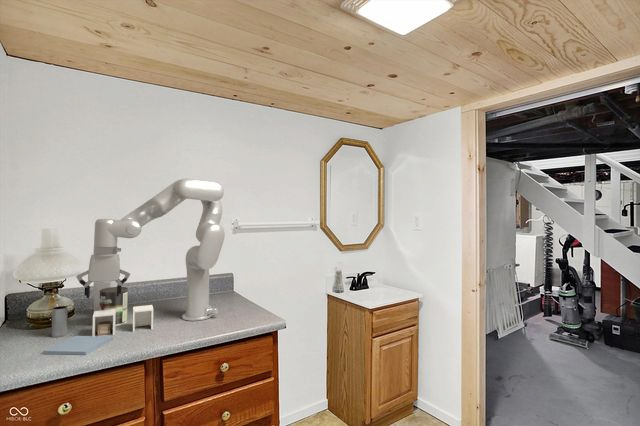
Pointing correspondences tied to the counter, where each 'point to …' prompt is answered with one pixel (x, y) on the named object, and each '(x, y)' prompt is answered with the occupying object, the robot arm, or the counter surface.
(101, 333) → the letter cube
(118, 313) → the coffee can
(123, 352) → the counter surface
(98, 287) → the skincare box
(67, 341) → the slate board
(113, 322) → the white box
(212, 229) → the robot arm
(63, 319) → the grey cylinder
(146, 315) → the plain white cube box
